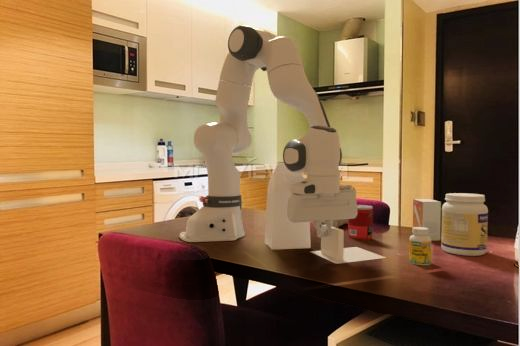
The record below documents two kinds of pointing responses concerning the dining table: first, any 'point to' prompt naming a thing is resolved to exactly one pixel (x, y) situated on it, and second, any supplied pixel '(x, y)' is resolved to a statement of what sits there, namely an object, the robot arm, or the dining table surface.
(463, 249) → the supplement tub
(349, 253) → the mat
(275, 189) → the milk
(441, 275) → the dining table surface
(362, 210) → the canned food
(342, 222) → the decorative bottle
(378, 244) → the dining table surface
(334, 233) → the tile
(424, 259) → the supplement bottle
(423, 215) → the small box
